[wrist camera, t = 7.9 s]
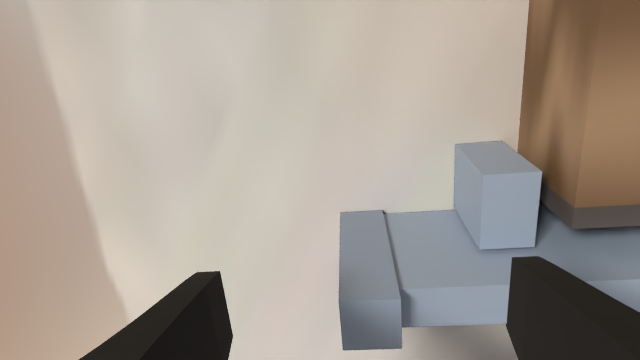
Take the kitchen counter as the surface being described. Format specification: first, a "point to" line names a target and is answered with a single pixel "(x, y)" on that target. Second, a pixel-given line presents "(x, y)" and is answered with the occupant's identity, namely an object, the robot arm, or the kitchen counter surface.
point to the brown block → (584, 109)
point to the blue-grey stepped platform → (468, 253)
